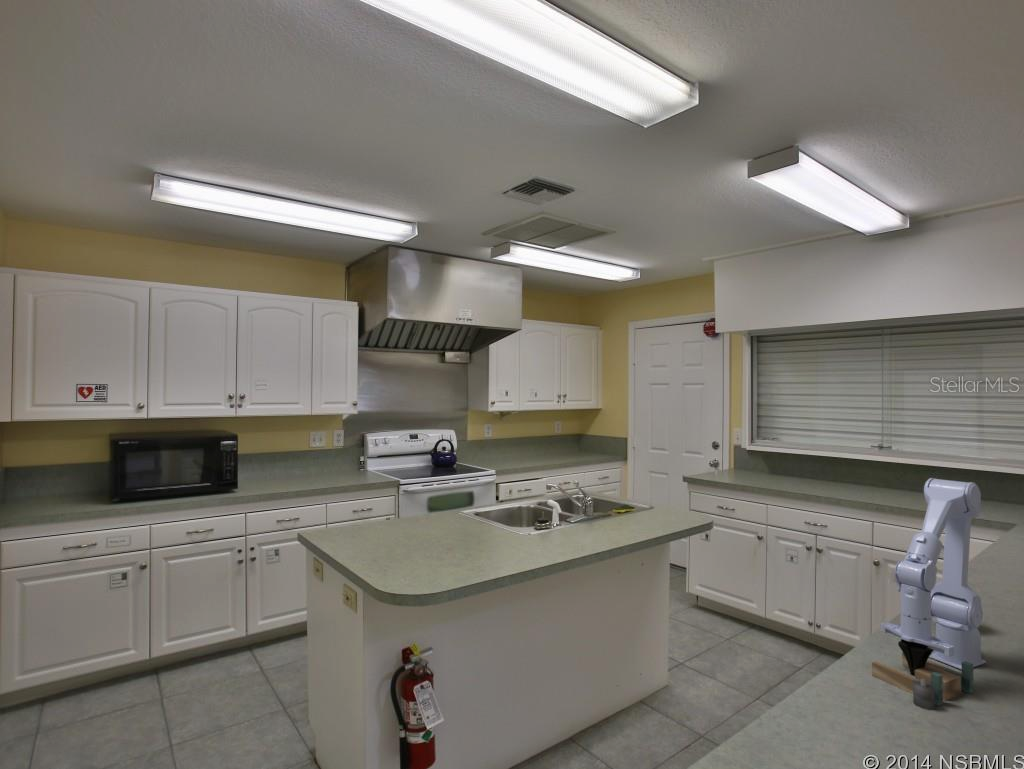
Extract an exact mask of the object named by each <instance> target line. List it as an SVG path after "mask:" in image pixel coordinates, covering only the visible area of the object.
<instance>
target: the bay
mask: <svg viewBox="0 0 1024 769" xmlns="http://www.w3.org/2000/svg"><path fill="white" fill-rule="evenodd" d="M901 654H902V657H901V659H902V666H903V667H905V668H908V669H909V666H908V663H907V660H906V658H905V655H904V653H903V652H902V653H901ZM929 665H932V666H935V667H937V668H940V669H943V670H945V671H948V672H950V673H953V674H955V675H958V676H960V677H961V691H963V692H965V693H968V694H972V693H974V692H975V691H974V690H975V689H974V687H975V686H974V667H973V664H971V663H969V662H966V661H965V662H962V670H961V672H959V671H956V670H954V669H952V668H950V667H946V666H943V665H941V664H939V663H936V662H933V661H930V660H929V659H928V660H927V662H926V664H925V667H926V666H929ZM871 676H873V677H874V678H877V679H879V680H881V681H883V682H886V683H888V684H890V685H893V686H895V687H897V688H899V689H901V690H903V691H906V692H907V693H910V694H912V696H913V701H912V702H913V704H914V705H915V706H917V707H919V708H921V709H924V710H934V709H935V706H936V705H937V706H942V705H943V704H944V700H943V675H941V674H939V673H936V672H933V673H931V684H929V683H927V681H926V679H921V680H919V679H917V678H915V676H913V675H911V674H907V673H905V672H902V671H900V670H898V669H896V668H893V667H891V666H888V665H886V664H885V663H881V662H879V661H872V662H871Z"/></svg>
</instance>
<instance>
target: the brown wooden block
mask: <svg viewBox="0 0 1024 769" xmlns="http://www.w3.org/2000/svg"><path fill="white" fill-rule="evenodd" d="M933 672H936V673H939V674H941V675H943V702H944V701H945V702H946V701H947V700H951V699H953V698H956V697H958V696H960V695H961V696H962V690H961V677H960V676H958V675H955V674H953V673H950V672H948V671H945V670H943V669H940V668H937V667H935V666H932V665H929V666H926V667H923V668H920V669H917V670H915V676H914V677H915V678H917V679H919V680H921V679H926V681H927V683H929V684H931V673H933Z"/></svg>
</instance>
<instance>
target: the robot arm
mask: <svg viewBox="0 0 1024 769" xmlns="http://www.w3.org/2000/svg"><path fill="white" fill-rule="evenodd" d="M923 494H924V495H923V496H924V500H925V503H926V505H927V508H926V512H925V516H924V520H923V523H922V527H921V531H920V532H917V533H915V534H913V536H912V539H911V541H910V544H909V546H908V549H907V551H906V554H905V556H904V559H902V560H899V561H898V562H897V563H896V565H895V570H894V579H895V582H896V588H897V591H898V593H899V598H900V601H899V602H900V605H899V606H900V610H899V611H900V625H898V624H894V623H891V622H887V621H885V622H881V623H880V632H882V633H885V634H887V633H888V634H890V635H893V636H895V637H898V638H900V640H899V641H898V644H897V645H898V647H899V648H900V650H901V652H902V653H904V655H905V658H906V660H907V663H908V666H909V668H908V670H909V673H910V676H912V677H915V670H917V669H920V668H923V667H925V664H926V662H927V660H929V659H930V658H931V659H933V660H935V661H937V662H940V663H944V664H946V665H949V666H951V667H954V668H957V669H959V670H961V671H962V662H965V661H966V662H969V663H971V664H973V668H976V667H978V666H981V665H984V664H986V663H987V662H986V660H984V659H982V637H981V636H982V635H981V633H980V630H979V629H978V628H979V627H980V626H981V625H982V622H983V618H984V617H983V616H984V614H983V607H982V598H981V596H980V595H979V594H978V593H977V592H976V591H975V590H973V589H972V588H971V587H970V586H969V585H968V577H969V561H970V544H971V528H972V527H971V526H972V521H973V518H978V517H980V512H981V502H982V501H981V499H982V498H981V496H982V493H981V491H980V487H979V486H978V485H977V484H976V483H975V482H972V481H970V482H967V481H957V480H950V479H949V480H948V479H942V478H941V479H940V478H939V479H938V478H934V477H930V478H928V479H927V480H926V481H925V483H924V486H923ZM943 532H944V543H942V541H941V540H940V538H941V536H942V534H943ZM943 544H944V545H943ZM943 546H944V547H943ZM943 548H944V549H943ZM942 549H943V561H942V576H941V577H942V579H941V581H939V582H937V573H938V567H937V562H938V560H939V557H940V554H941V552H942ZM942 593H946V594H950V595H954V596H957V597H961V598H964V599H961V598H957V597H953V596H949V595H945V594H942ZM932 621H933V622H935V632H936V633H935V636H933V635H932ZM934 651H935V652H934Z"/></svg>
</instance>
